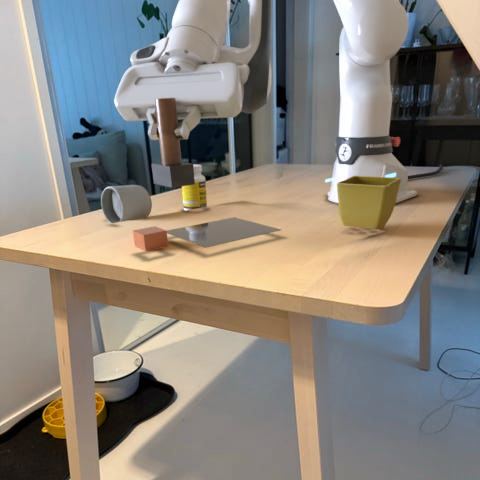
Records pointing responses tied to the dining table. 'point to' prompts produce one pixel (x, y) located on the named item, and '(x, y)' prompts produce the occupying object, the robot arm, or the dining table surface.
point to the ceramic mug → (125, 203)
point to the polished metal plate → (220, 231)
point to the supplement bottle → (195, 191)
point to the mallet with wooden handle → (170, 149)
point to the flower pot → (367, 200)
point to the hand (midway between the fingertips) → (167, 137)
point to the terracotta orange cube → (150, 238)
